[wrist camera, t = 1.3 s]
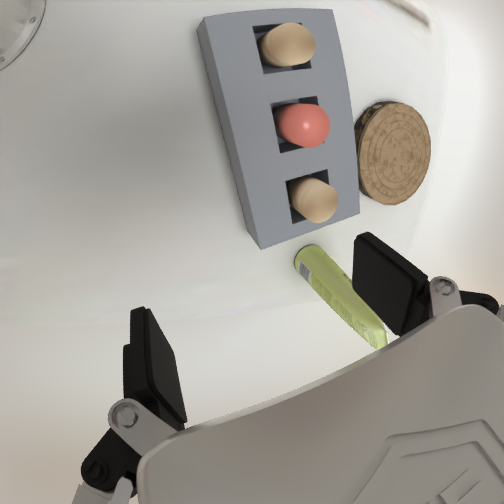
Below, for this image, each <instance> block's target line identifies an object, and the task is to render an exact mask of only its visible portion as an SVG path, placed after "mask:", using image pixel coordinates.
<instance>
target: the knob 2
mask: <svg viewBox="0 0 504 504" xmlns="http://www.w3.org/2000/svg"><path fill="white" fill-rule="evenodd" d="M286 189H287V195H288V201H289V204H290V205H291V206H292V207H293V208H294V209H296V210H297V211H298V212H299V213H301V214H302V215H303V216H304V217H305V218H307V219H308V220H309V221H311V222H313V223H322V222H324V221H326V220H328V219H329V218H330V217H331V216H332V215H333V214H334V213H335V211H336V209H337V206H338V195H337V192H336V191H335V189H334V188H333V187H331V186H330V185H328V184H326V183H324V182H322V181H320V180H318V179H317V178H315V177H313V176H311V175H309V174H308V175H304V176H301V177H297V178H294V179H292V180H291V181H290V182H289V184H288V186H287V188H286Z"/></svg>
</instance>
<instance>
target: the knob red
mask: <svg viewBox="0 0 504 504" xmlns="http://www.w3.org/2000/svg"><path fill="white" fill-rule="evenodd" d="M273 120H274V125H275V130H276V134H277V136H278V137H279V138H281V139H283V140H285V141H288V142H291V143H294V144H297V145H300V146H303V147H306V148H314V147H317V146H319V145H321V144H322V143H323V142H324V141H325V140H326V138H327V136H328V134H329V131H330V121H329V118H328V115H327V114H326V112H325V111H324V110H323V109H322V108H321V107H319V106H317V105H313V104H299V103H287V104H284V105H282V106H280V107H279V108H278V109H277V110H276V111H275V113H274V115H273Z"/></svg>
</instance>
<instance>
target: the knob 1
mask: <svg viewBox="0 0 504 504" xmlns="http://www.w3.org/2000/svg"><path fill="white" fill-rule="evenodd" d="M256 44H257V48H258V52H259V57H260V60H261V61H262V62H263V63H264V64H265V65H267V66H269V67H272V68H283V67H288V66H292V65H297V64H302V63H305V62H307V61H308V60H310V59H311V58H312V56H313V55H314V52H315V40H314V38H313V36H312V34H311V33H310V31H309V30H308V29H307V28H305V27H304V26H302V25H300V24H297V23H284V24H282V25H280V26H278V27H276V28H274V29H272V30H270V31H269V32H267V33H265V34H263V35H262V36H261V37H260V38H259V39H258V41H257V43H256Z"/></svg>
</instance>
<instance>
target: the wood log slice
mask: <svg viewBox="0 0 504 504" xmlns="http://www.w3.org/2000/svg"><path fill="white" fill-rule="evenodd" d="M354 133H355V143H356V154H357V167H358V183H359V190H360V191H361V192H362V193H363V194H364V195H366V196H368V197H370V198H371V199H373V200H375V201H377V202H379V203H381V204H383V205H397V204H399V203H402V202H404V201H406V200H407V199H408V198H410V197H411V196H412V195H413V194H414V193H415V192H416V191H417V189H418V188H419V186H420V185H421V184H422V182H423V180H424V178H425V175H426V173H427V170H428V167H429V162H430V156H431V140H430V136H429V131H428V128H427V125H426V123H425V121H424V120H423V118H422V116H421V115H420V114H419V113H418V112H417V111H416V110H415V109H414V108H413V107H411V106H408V105H406V104H403V103H398V102H391V101H386V102H378V103H376V104H374V105H372V106H371V107H369V108H367V109H366V110H365V111H364V112H363V113H362V115H361V116H360V117H359V118H358V120H357V121H356V123H355V125H354Z"/></svg>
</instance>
